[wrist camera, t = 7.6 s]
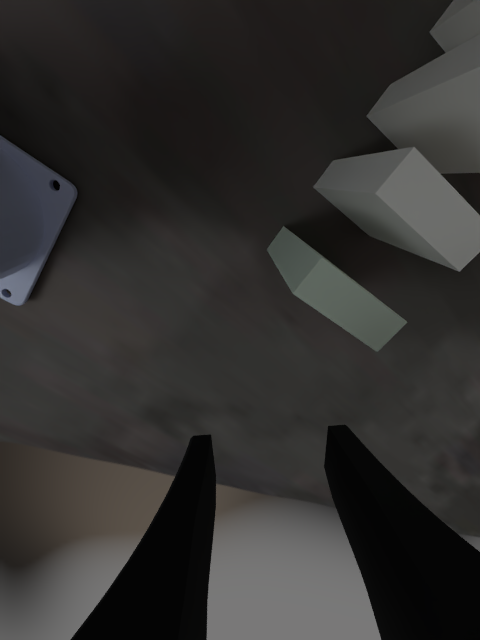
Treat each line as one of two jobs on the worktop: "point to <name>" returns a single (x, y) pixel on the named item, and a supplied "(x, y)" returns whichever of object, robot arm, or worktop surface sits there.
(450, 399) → the worktop surface
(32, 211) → the robot arm
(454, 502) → the worktop surface
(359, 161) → the domino
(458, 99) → the domino
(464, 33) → the domino
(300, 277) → the domino
